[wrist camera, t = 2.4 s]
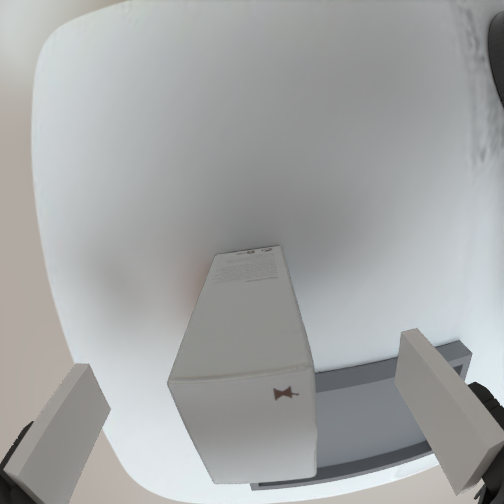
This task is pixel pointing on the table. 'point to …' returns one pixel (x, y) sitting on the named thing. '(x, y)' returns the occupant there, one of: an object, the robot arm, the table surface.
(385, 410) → the tray
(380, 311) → the table surface
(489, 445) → the robot arm
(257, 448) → the skincare box
